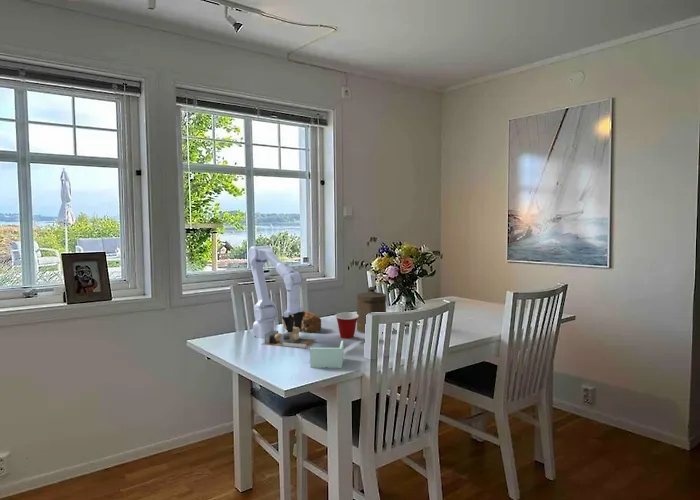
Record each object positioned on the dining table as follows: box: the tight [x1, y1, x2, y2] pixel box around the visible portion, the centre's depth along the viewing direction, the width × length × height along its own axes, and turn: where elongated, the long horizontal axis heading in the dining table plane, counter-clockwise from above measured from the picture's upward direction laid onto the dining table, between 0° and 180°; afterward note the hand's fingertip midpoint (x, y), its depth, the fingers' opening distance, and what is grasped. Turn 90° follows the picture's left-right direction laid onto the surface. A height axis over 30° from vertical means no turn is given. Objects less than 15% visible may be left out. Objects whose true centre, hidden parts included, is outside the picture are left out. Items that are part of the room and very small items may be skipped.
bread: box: [282, 310, 322, 334], centre depth 251 cm, size 19×11×10 cm, turn 45°
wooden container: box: [356, 286, 387, 334], centre depth 249 cm, size 15×15×22 cm
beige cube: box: [280, 327, 302, 344], centre depth 219 cm, size 7×7×7 cm
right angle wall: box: [309, 340, 345, 369], centre depth 195 cm, size 12×12×8 cm
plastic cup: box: [335, 311, 358, 339], centre depth 230 cm, size 11×11×12 cm
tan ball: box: [274, 332, 283, 343], centre depth 222 cm, size 4×4×4 cm
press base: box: [261, 330, 318, 350], centre depth 220 cm, size 22×12×6 cm, turn 68°
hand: (294, 330), depth 219 cm, fingers open, 7 cm apart
